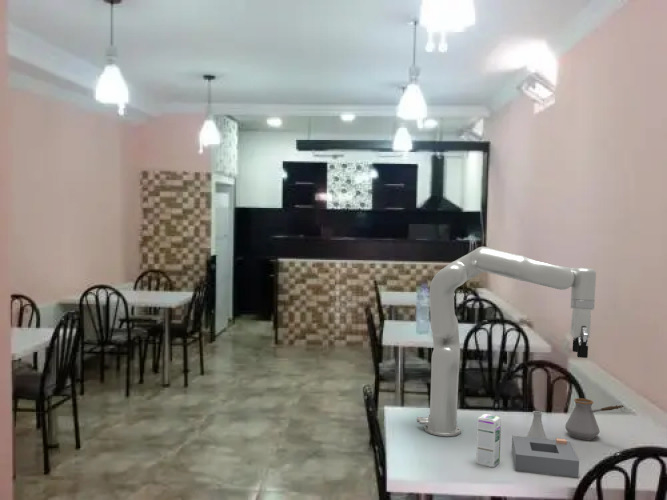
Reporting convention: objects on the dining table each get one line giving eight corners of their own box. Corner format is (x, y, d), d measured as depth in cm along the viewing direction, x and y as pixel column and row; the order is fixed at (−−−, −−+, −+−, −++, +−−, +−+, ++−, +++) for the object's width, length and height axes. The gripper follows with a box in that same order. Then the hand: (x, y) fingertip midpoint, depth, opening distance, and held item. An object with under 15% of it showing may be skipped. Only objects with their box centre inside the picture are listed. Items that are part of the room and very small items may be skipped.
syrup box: (494, 468, 195) (496, 420, 195) (475, 463, 198) (477, 417, 198) (499, 462, 200) (502, 416, 199) (481, 458, 203) (483, 412, 203)
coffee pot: (557, 433, 231) (560, 392, 230) (578, 429, 237) (580, 389, 236) (611, 452, 213) (613, 408, 212) (632, 447, 219) (634, 403, 218)
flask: (548, 445, 218) (550, 416, 217) (526, 443, 219) (527, 414, 219) (545, 438, 225) (547, 410, 224) (524, 436, 226) (525, 408, 226)
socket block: (515, 470, 194) (516, 451, 193) (511, 450, 211) (512, 432, 211) (578, 477, 190) (579, 457, 190) (569, 456, 207) (570, 438, 207)
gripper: (566, 300, 226) (564, 349, 227) (574, 306, 209) (572, 358, 210) (589, 302, 225) (586, 350, 225) (599, 308, 208) (596, 360, 209)
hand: (579, 354), depth 218 cm, fingers open, 9 cm apart
